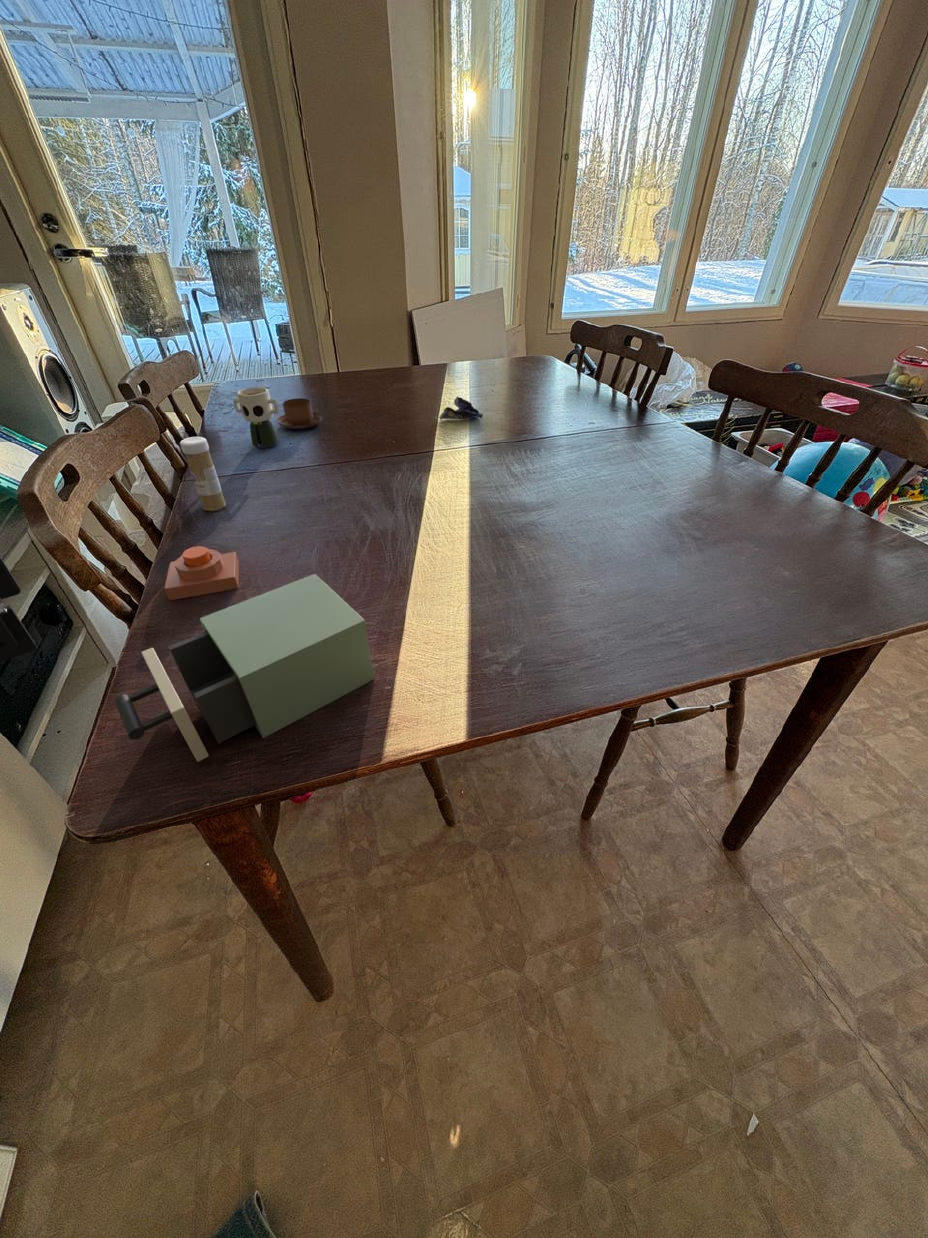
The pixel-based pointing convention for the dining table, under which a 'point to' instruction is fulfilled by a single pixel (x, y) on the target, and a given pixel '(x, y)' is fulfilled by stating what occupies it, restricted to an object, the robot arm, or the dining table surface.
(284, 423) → the cup and saucer
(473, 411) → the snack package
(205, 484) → the sprinkles bottle
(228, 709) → the fryer drawer
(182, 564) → the control block
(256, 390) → the character mug
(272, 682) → the fryer
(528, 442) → the dining table surface
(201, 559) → the button
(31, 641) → the robot arm
